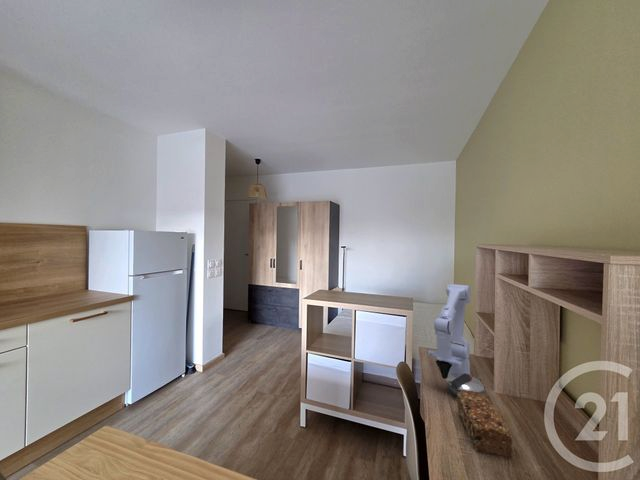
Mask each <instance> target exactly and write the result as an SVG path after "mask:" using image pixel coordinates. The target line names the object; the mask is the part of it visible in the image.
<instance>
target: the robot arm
mask: <svg viewBox="0 0 640 480" xmlns="http://www.w3.org/2000/svg"><path fill="white" fill-rule="evenodd" d="M445 290H446V291H445V292H446V295H447V296H446V297H447V301H446V303H445V305H443V306H442V308H441V310H440V313H439V315H438V317H436V318H435V319H434V324H433V329H434V332H435V335H436V350H432V349H429V350H428V352H427V353H428V356H431V357H434V358H436V360H435V363H436V365H437V366H438V369H439V371H440V375H441V379H444V380H446V378H448V374H451V373H462V374H465V373H466V374H470V375H472V374H471V363H470V362H471V361H470V360H469V358H470V353H471V352H470V351H471V350H470V343H469V341H467V339H465V337H464V329H465V327H464V326H465V315H466V313H465V312H466V305H467V304H469V303H470V301H471V292H472V291H471V287H470V286H469V285H466V284H455V283H454V284H453V283H447V285H446V287H445Z"/></svg>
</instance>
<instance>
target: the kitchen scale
mask: <svg viewBox="0 0 640 480" xmlns="http://www.w3.org/2000/svg"><path fill="white" fill-rule="evenodd" d="M446 384H447V385H446V386H447V387H446V388H447V392H448V393H449V394H450V395H449V396H452V397H453V398H455V399H456V400H457V396H458V395H457V394H458V392H461V391H460V390H457V389H455V388H453V387H451V386H450V385H449V384H448V383H447V382H446ZM483 392H484V390H483V391H482V392H480V393H479V394H482V395H483V396H484V394H483Z"/></svg>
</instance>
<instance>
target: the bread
mask: <svg viewBox="0 0 640 480" xmlns="http://www.w3.org/2000/svg"><path fill="white" fill-rule="evenodd" d="M457 395H458V396H457V399H456V403H457V406H456V407H457V409H458V415H459V416H460V418H461V421H462V425H464V428H465V430H466V432H467V433H466V434H467V435H468V437H469V439H470V442H471V443H472V445H473V446H474V449H475V451H477V452H478V453H482V454H483V453H484V454H486V455H489V454H493V455H497V456H500V457H504V458H511V457H512V453H513V447H512V445H513V438H512V434H511V432H510V428H509V427H508V425H507V423H506V422H505V420H504V417H503V416H502V415H501V413H500V412H499V411H498V410H497V408H496V406H495V405H494V404H493V403H492V402H491V401H490V399H488V397H486V396H485V395H484V394H483V395H482V394H479V393H477V392H474V391H465V390H462V391H461V392H458V394H457Z"/></svg>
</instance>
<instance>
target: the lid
mask: <svg viewBox="0 0 640 480" xmlns="http://www.w3.org/2000/svg"><path fill="white" fill-rule="evenodd" d="M470 374H471V373H470ZM470 374H466V373H465V374H462V373H451V374H448V378H446V379H445V382H446V384H447V383H448V384H449V385H450V386H451V387H453V388H455V389H457V390H460V391H462V390H465V391H474V392H477V393H480V392H482V391H483V392H484V390H485V387H484V383H483V382H482V381H481V380H480V379H478V378H476V377H474V376H473V375H472V374H471V375H470ZM483 392H482V393H483Z"/></svg>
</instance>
